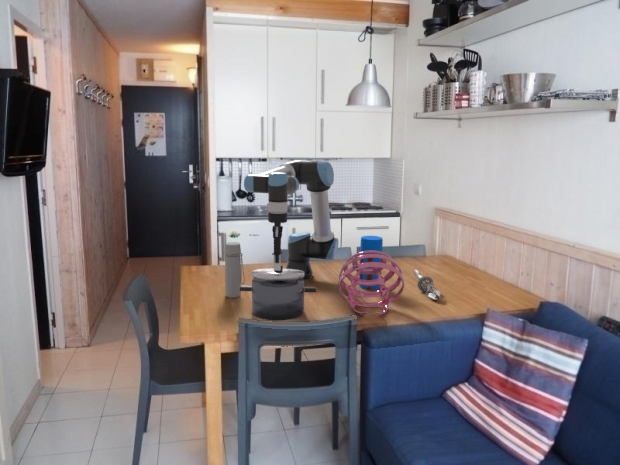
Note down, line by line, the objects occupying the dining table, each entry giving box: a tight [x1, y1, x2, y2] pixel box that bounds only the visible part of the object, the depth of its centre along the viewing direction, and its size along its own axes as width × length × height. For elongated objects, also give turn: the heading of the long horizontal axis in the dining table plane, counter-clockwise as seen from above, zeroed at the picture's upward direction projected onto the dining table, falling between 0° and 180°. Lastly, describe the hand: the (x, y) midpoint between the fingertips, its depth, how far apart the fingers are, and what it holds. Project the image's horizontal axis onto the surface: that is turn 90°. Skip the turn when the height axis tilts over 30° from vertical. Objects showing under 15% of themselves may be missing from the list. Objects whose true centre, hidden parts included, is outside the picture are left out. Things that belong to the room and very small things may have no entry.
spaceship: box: [413, 269, 441, 301], centre depth 252 cm, size 8×35×8 cm
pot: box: [240, 277, 317, 322], centre depth 219 cm, size 22×32×14 cm
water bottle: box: [224, 241, 246, 299], centre depth 237 cm, size 9×8×25 cm
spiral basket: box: [337, 250, 405, 316], centre depth 220 cm, size 28×28×27 cm
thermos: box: [358, 235, 384, 291], centre depth 256 cm, size 11×11×25 cm
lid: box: [251, 265, 304, 280], centre depth 217 cm, size 22×22×4 cm
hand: (277, 269), depth 207 cm, fingers closed
